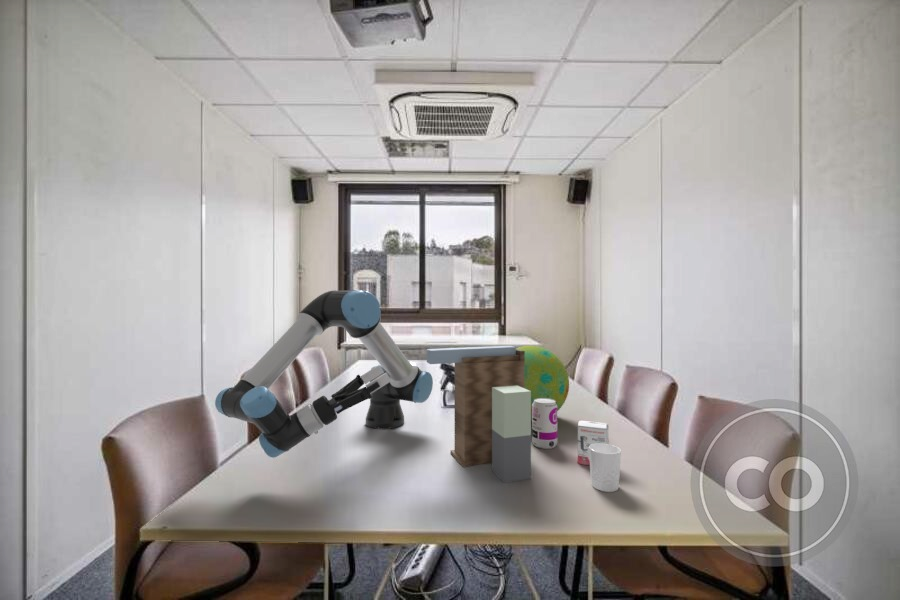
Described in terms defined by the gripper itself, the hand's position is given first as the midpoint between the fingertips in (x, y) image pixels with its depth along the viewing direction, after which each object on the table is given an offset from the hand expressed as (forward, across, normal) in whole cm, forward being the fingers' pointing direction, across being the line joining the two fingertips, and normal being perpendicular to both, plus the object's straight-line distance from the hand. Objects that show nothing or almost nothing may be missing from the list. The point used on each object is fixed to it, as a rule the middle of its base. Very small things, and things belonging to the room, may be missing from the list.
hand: (385, 372), depth 119 cm
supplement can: (+33, -4, -52) cm, 61 cm away
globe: (+42, -32, -57) cm, 77 cm away
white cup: (+32, +28, -51) cm, 67 cm away
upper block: (+20, +14, -30) cm, 39 cm away
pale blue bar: (+24, -1, -12) cm, 27 cm away
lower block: (+14, +14, -41) cm, 46 cm away
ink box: (+38, +14, -54) cm, 68 cm away
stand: (+14, -1, -41) cm, 43 cm away
